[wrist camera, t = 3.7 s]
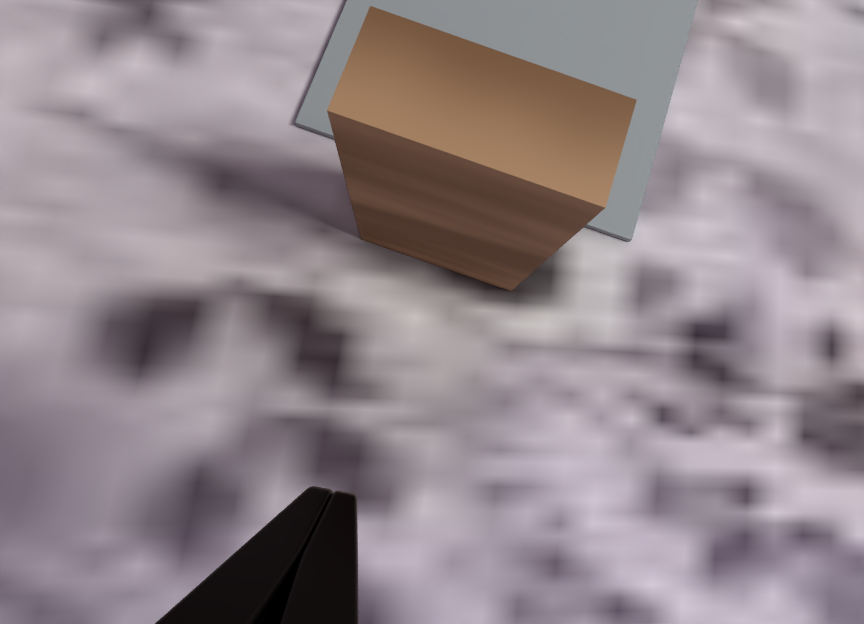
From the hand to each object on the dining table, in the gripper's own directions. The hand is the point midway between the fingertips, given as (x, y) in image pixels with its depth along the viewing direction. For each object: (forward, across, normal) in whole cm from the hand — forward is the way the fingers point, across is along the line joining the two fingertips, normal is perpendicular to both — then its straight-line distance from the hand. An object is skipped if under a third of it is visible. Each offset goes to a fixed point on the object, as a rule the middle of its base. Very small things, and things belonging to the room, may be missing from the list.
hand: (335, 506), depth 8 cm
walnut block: (+15, 0, 0) cm, 15 cm away
